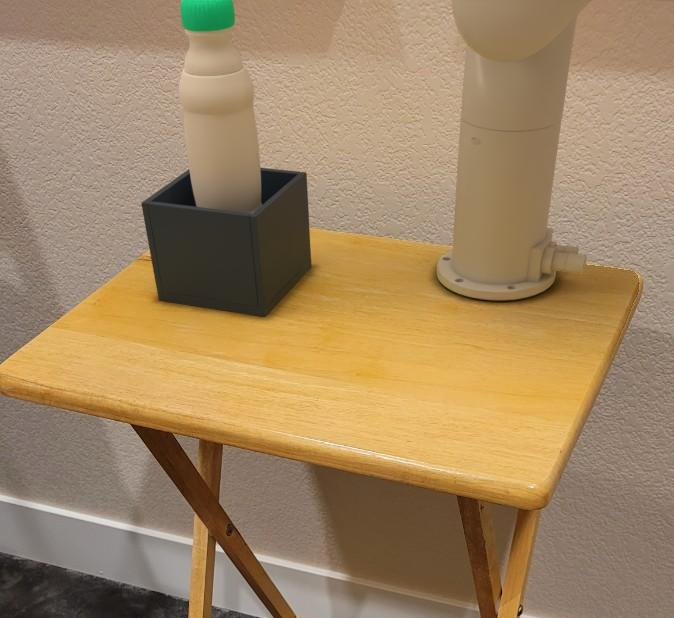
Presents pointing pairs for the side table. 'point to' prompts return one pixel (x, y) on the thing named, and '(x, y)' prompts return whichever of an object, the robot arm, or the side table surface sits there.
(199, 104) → the water bottle
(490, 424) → the side table surface
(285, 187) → the bin
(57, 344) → the side table surface
